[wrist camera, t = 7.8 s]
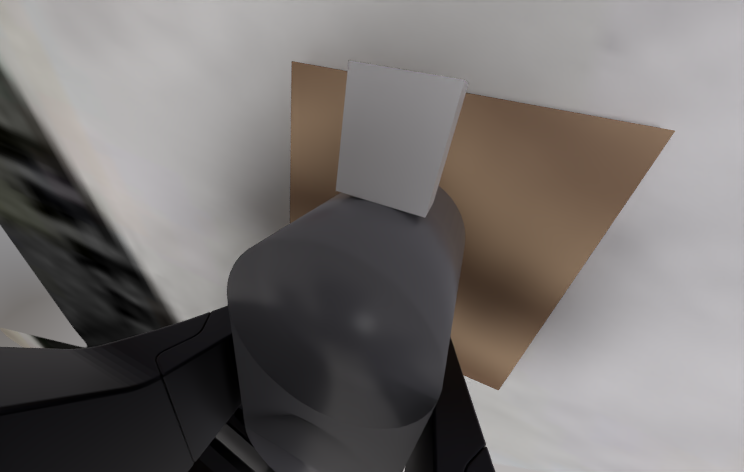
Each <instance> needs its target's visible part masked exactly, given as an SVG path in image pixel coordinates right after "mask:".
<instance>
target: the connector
mask: <svg viewBox="0 0 744 472" xmlns="http://www.w3.org/2000/svg"><path fill="white" fill-rule="evenodd" d="M468 84H469V83H468V82H467V81H466V80H464V79H458V78H452V77H446V76H440V75H434V74H429V73H423V72H417V71H411V70H405V69H399V68H393V67H387V66H381V65H375V64H369V63H363V62H357V61H351V60H349V61H348V72H347V82H346V92H345V102H344V112H343V122H342V132H341V142H340V152H339V162H338V173H337V183H336V191H338V192H341V193H339V194H338V195H336V196H335V197H333V198H331V199H330V200H328V201H326V202H325V203H323V204H321V205H320V206H318V207H317V208H315V209H313V210H312V211H310V212H308V213H307V214H305V215H303V216H302V217H300V218H299V219H297V220H295V221H294V222H292V223H290V224H289V225H287V226H285V227H284V228H282V229H281V230H279V231H277V232H276V233H274V234H272V235H271V236H269V237H267V238H266V239H264V240H263V241H261V242H259V243H258V244H256V245H254V246H253V247H251V248H249V249H248V250H247V251H246V252H244V253H243V254H242V255H241V256H240V257H239V258H238V260H237V261H236V262H235V264H234V266H233V268H232V270H231V272H230V275H229V279H228V286H227V299H228V308H229V315H230V322H231V329H232V336H233V343H234V351H235V358H236V365H237V372H238V379H239V386H240V393H241V400H242V407H243V415H244V422H245V428H246V432H247V435H248V437H249V439H250V441H251V443H252V445H253V446H254V448H255V450H256V451H257V452H258V454H259V455H260V456H261V457H262V459H263V460H264V461H265V462H266V463H267V464H268V465H269V466H270V467H271V468H272V469H273V470H274V471H275V472H403V469H404V468H405V466H406V464H407V462H408V460H409V458H410V456H411V454H412V452H413V450H414V448H415V446H416V444H417V442H418V440H419V438H420V436H421V434H422V432H423V430H424V428H425V426H426V424H427V422H428V420H429V418H430V416H431V414H432V412H433V410H434V408H435V406H436V404H437V402H438V399H439V397H440V394H441V391H442V386H443V380H444V374H445V367H446V361H447V355H448V348H449V342H450V336H451V329H452V323H453V317H454V310H455V304H456V298H457V291H458V285H459V279H460V272H461V266H462V260H463V253H464V247H465V228H464V223H463V219H462V216H461V214H460V212H459V210H458V208H457V206H456V204H455V203H454V201H453V200H452V198H451V197H450V196H449V195H448V194H447V193H446V192H445V191H444V190H443V189H442V188H441V187H440V186H439V182H440V179H441V175H442V172H443V169H444V165H445V162H446V159H447V155H448V152H449V148H450V145H451V142H452V138H453V135H454V131H455V128H456V125H457V121H458V118H459V114H460V111H461V108H462V104H463V101H464V98H465V94H466V91H467V87H468Z"/></svg>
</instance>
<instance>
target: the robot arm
mask: <svg viewBox="0 0 744 472" xmlns="http://www.w3.org/2000/svg"><path fill="white" fill-rule="evenodd" d="M485 446H486V443H485V440H484V437H483V434H482V431H481V428H480V424H479V421H478V418H477V415H476V412H475V409H474V406H473V403H472V400H471V397H470V394H469V391H468V388H467V385H466V382H465V379H464V376H463V373H462V370H461V367H460V364H459V361H458V358H457V355H456V352H455V348H454V345H453V342H452V339H451V336H450V342H449V348H448V355H447V361H446V367H445V374H444V380H443V386H442V391H441V394H440V397H439V399H438V402H437V404H436V406H435V408H434V410H433V412H432V414H431V416H430V418H429V420H428V422H427V424H426V426H425V428H424V430H423V432H422V434H421V436H420V438H419V440H418V442H417V444H416V446H415V448H414V450H413V452H412V454H411V456H410V458H409V460H408V462H407V464H406V466H405V472H495V470H494V467H493V464H492V461H491V458H490V455H489V451H488V448H487V447H485ZM0 472H275V471H274V470H273V469H272V468H271V467H270V466H269V465H268V464H267V463H266V462H265V461H264V460H263V459H262V457H261V456H260V455H259V454H258V452H257V451H256V450H255V448H254V446H253V445H252V443H251V441H250V439H249V437H248V435H247V432H246V428H245V422H244V415H243V407H242V400H241V393H240V386H239V379H238V372H237V365H236V358H235V351H234V343H233V336H232V329H231V322H230V315H229V308H228V306H225V307H222V308H220V309H217V310H214V311H212V312H211V313H210V312H208V313H206V314H203V315H200V316H197V317H194V318H192V319H189V320H186V321H183V322H180V323H177V324H173V325H170V326H167V327H164V328H160V329H157V330H153V331H150V332H147V333H143V334H140V335H136V336H133V337H129V338H126V339H122V340H119V341H115V342H112V343H108V344H104V345H101V346H96V347H91V348H83V349H45V348H16V347H0Z"/></svg>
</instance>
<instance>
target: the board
mask: <svg viewBox="0 0 744 472" xmlns="http://www.w3.org/2000/svg"><path fill="white" fill-rule="evenodd" d="M347 72H348V71H343V70H337V69H332V68H326V67H321V66H315V65H310V64H304V63H299V62H293V61H292V82H291V173H290V223H292V222H294V221H295V220H297V219H299V218H300V217H302V216H303V215H305V214H307V213H308V212H310V211H312V210H313V209H315V208H317V207H318V206H320V205H321V204H323V203H325V202H326V201H328V200H330V199H331V198H333V197H335V196H336V195H338V194H339V193H341V192H338V191H336V183H337V173H338V162H339V152H340V142H341V132H342V122H343V112H344V102H345V92H346V82H347ZM674 132H675V131H673V130H668V129H662V128H657V127H651V126H646V125H640V124H635V123H629V122H624V121H618V120H613V119H607V118H602V117H596V116H591V115H585V114H580V113H574V112H569V111H563V110H558V109H552V108H547V107H541V106H536V105H530V104H525V103H519V102H514V101H508V100H503V99H497V98H492V97H486V96H481V95H475V94H470V93H466V94H465V98H464V101H463V104H462V108H461V111H460V114H459V118H458V121H457V125H456V128H455V131H454V135H453V138H452V142H451V145H450V148H449V152H448V155H447V159H446V162H445V165H444V169H443V172H442V175H441V179H440V182H439V186H440V187H441V188H442V189H443V190H444V191H445V192H446V193H447V194H448V195H449V196H450V197H451V198H452V200H453V201H454V203H455V204H456V206H457V208H458V210H459V212H460V214H461V216H462V219H463V223H464V228H465V247H464V253H463V260H462V266H461V272H460V279H459V285H458V291H457V298H456V304H455V310H454V317H453V323H452V329H451V339H452V342H453V345H454V348H455V352H456V355H457V358H458V361H459V364H460V367H461V370H462V373H463V375H464V376H467V377H469V378H471V379H474V380H476V381H478V382H480V383H483V384H485V385H487V386H490V387H492V388H494V389H497V390H499V389H500V387H501V386H502V384H503V383H504V381H505V380H506V379H507V377H508V376H509V374H510V373H511V371H512V370H513V368H514V367H515V365H516V364H517V362H518V361H519V359H520V358H521V356H522V355H523V354H524V352H525V351H526V349H527V348H528V346H529V345H530V343H531V342H532V340H533V339H534V337H535V336H536V334H537V333H538V332H539V330H540V329H541V327H542V326H543V324H544V323H545V321H546V320H547V318H548V317H549V315H550V314H551V312H552V311H553V309H554V308H555V307H556V305H557V304H558V302H559V301H560V299H561V298H562V296H563V295H564V293H565V292H566V290H567V289H568V287H569V286H570V285H571V283H572V282H573V280H574V279H575V277H576V276H577V274H578V273H579V271H580V270H581V268H582V267H583V265H584V264H585V263H586V261H587V260H588V258H589V257H590V255H591V254H592V252H593V251H594V249H595V248H596V246H597V245H598V243H599V242H600V240H601V239H602V238H603V236H604V235H605V233H606V232H607V230H608V229H609V227H610V226H611V224H612V223H613V221H614V220H615V218H616V217H617V216H618V214H619V213H620V211H621V210H622V208H623V207H624V205H625V204H626V202H627V201H628V199H629V198H630V196H631V195H632V193H633V192H634V191H635V189H636V188H637V186H638V185H639V183H640V182H641V180H642V179H643V177H644V176H645V174H646V173H647V171H648V170H649V169H650V167H651V166H652V164H653V163H654V161H655V160H656V158H657V157H658V155H659V154H660V152H661V151H662V149H663V148H664V146H665V145H666V144H667V142H668V141H669V139H670V138H671V136H672V135H673V133H674Z"/></svg>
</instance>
